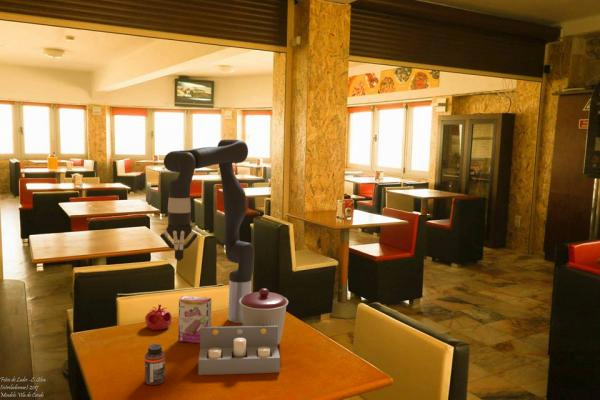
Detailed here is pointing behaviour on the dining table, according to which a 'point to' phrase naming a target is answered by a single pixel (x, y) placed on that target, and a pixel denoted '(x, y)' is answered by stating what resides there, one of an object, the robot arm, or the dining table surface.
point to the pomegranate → (158, 319)
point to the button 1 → (215, 353)
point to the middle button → (239, 347)
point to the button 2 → (263, 352)
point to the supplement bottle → (154, 365)
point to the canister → (264, 310)
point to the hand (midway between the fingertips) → (179, 260)
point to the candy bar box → (193, 317)
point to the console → (225, 342)
